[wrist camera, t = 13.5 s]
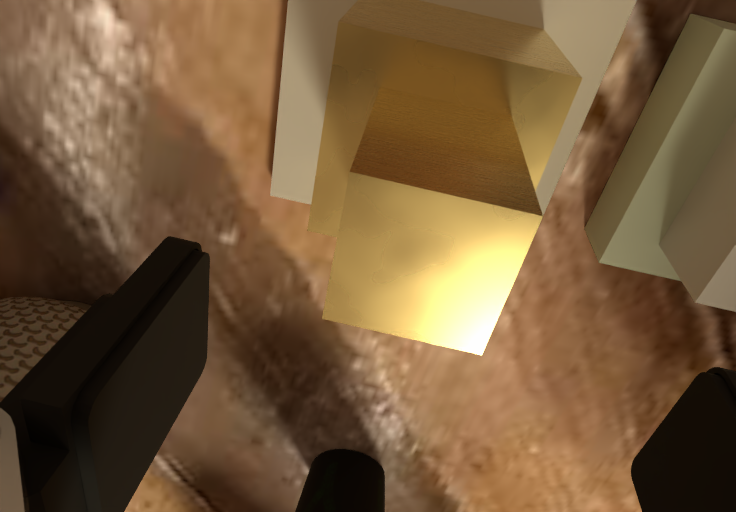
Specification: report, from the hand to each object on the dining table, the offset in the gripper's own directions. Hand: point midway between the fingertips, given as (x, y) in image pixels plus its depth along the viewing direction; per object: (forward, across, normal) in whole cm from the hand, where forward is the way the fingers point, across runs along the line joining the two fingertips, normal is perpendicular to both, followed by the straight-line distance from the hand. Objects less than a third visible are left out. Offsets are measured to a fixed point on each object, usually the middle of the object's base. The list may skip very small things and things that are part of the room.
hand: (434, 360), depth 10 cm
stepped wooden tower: (+15, +1, -1) cm, 15 cm away
